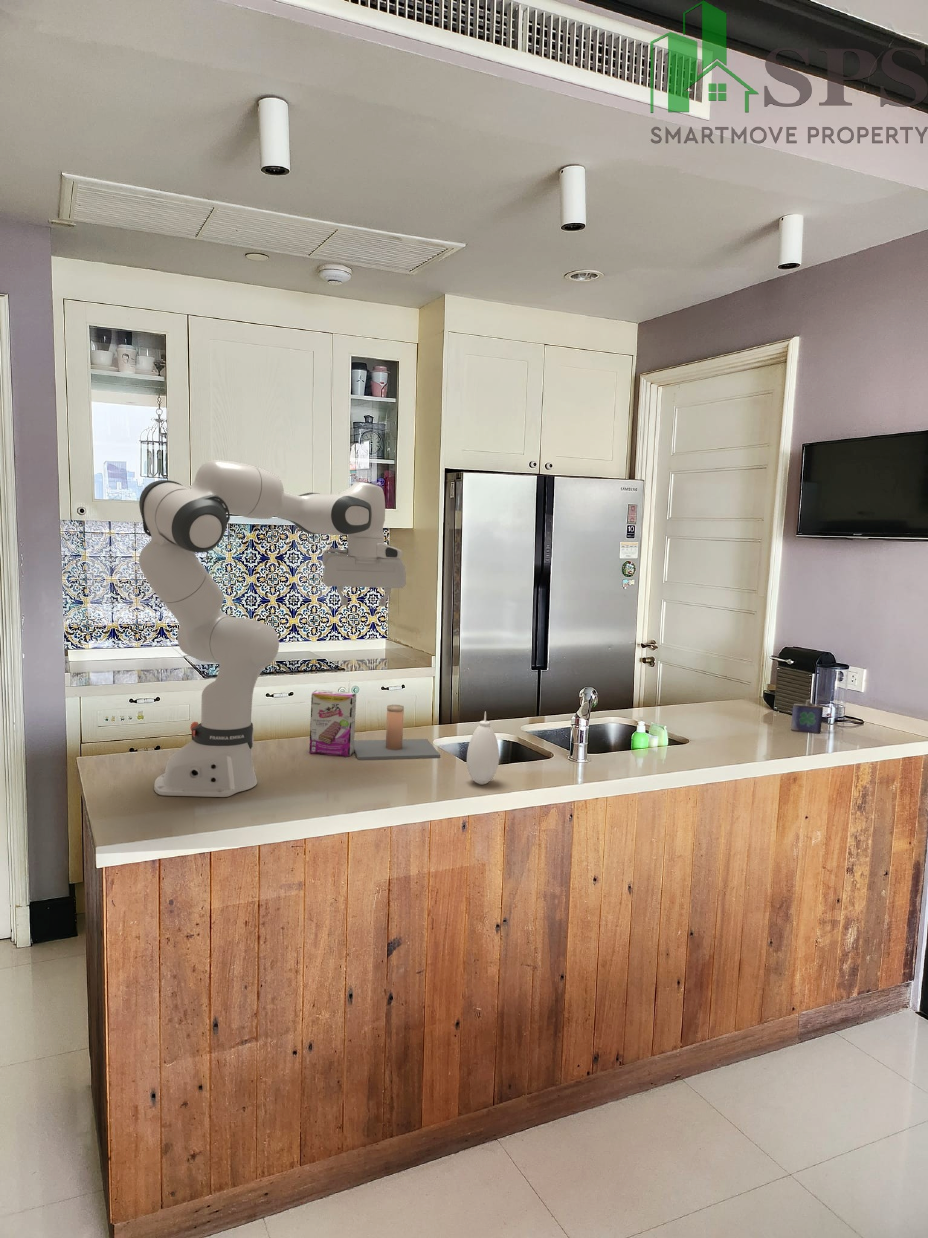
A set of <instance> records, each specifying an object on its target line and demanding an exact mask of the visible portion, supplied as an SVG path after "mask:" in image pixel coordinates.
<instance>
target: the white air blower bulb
mask: <svg viewBox="0 0 928 1238" xmlns="http://www.w3.org/2000/svg"><path fill="white" fill-rule="evenodd" d="M483 717H484V718H483V720H480V721H479V725H478V726H477V727H476V728H475V730H474V731H473V734H472V736H471V737H470V740H469V743H468V747H467V753H466V766H467V771H468V775H469V776H470V778H471V779H472V780H473V781H474V783H476V784H477V785H485V784H487V783H489V782H490V781H491V780H493V778H494V777H495V775H496V774H497V771H498V767H499V763H500V750H499V743H498V739H497V737H496V734H495V731H494V729H493V727H492V726H491V722H490V721H488V720H487V711H484V716H483Z"/></svg>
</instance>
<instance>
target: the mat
mask: <svg viewBox="0 0 928 1238" xmlns="http://www.w3.org/2000/svg"><path fill="white" fill-rule="evenodd" d="M354 752H355V753H354ZM354 752H353V753H354V755H355V757H356V759H357V761H368V760H369V761H370V760H371V761H372V760H373V761H375V760H377V761H378V760H405V759H406V760H409V759H440V758H441V754H440V752H439V751H438V750H437V749H436V747H434V745H433V744H432V743H431V742H430V740H429V739H428V738H413V739H412V738H410V739H409V738H407V739H405V738H404V739H403V740H402V749H399V750H390V749H387V748H386V739H365V740H364V739H361V740H359V739H357V740H355V739H354Z"/></svg>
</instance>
